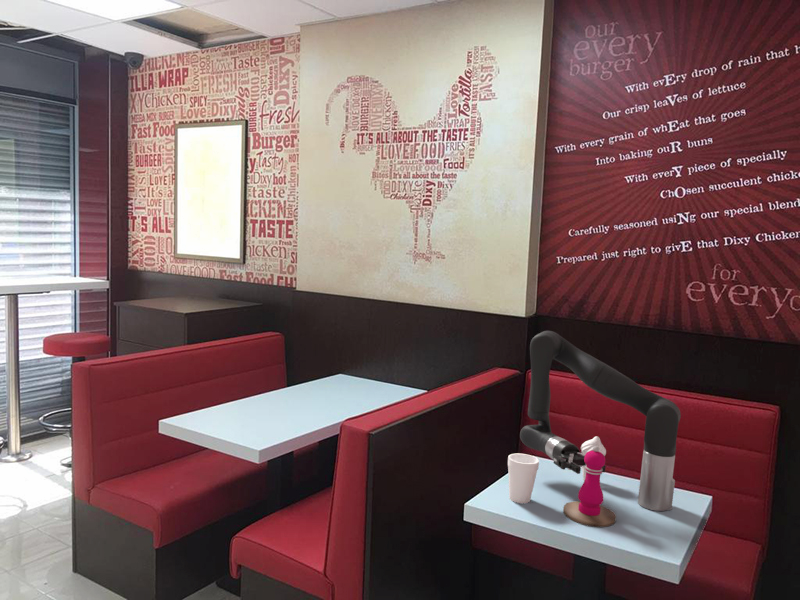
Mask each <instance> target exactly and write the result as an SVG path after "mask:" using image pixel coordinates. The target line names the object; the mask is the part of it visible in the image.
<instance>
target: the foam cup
mask: <svg viewBox="0 0 800 600" xmlns="http://www.w3.org/2000/svg"><path fill="white" fill-rule="evenodd" d="M539 466H540V459H539V458H537V457H536V456H534V455H530V454H526V453H520V452H518V453H511V454H509V455H508V457H507V469H508V470H507V471H508V493H509V494H508V495H509V500H510V501H512V502H513V501H514V502H513V503H516V502H517V504H523V503H524V504H529V503H530V502H531V499H532V493H533V491H534V486H535V482H536V479H537V477H536V476H537V473H538V470H539ZM528 502H529V503H528Z"/></svg>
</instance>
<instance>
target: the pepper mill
mask: <svg viewBox="0 0 800 600" xmlns="http://www.w3.org/2000/svg"><path fill="white" fill-rule="evenodd" d="M584 462H585V464H586V466H585V471H586V477H585V481H584V480H583V483H582V485H581V486H580V488H579V490H578V494H577V498H578V501H580V502H581V503H579V508H578V510H579V511H580V512H581V513H583V514H586V515H590V516H597V515H599V514H600V510H601V507H600V506H599V505H601V506H602V504H603V503H604V492H603V490H602V486H601V480H600V479H601V476H602V475H603V472H602V470H603V469H602V467H603V466H604V465H605V466H606V457H605V456H604V455H603V454H602V453H601V452H599V448H598V446H594V447H593V451H589V452H587V453H586V454H585V457H584Z"/></svg>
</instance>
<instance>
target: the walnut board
mask: <svg viewBox="0 0 800 600" xmlns="http://www.w3.org/2000/svg"><path fill="white" fill-rule="evenodd" d="M579 503H581V502H580V500H578V501H569V502H566V504H564V505H563V510H562V511H563V515H564V516H565V517H567V519H568V520H570V521H573V522H574V523H577V524H580V525H584V526H587V525H588V526H587V527H593V526H594V528H595V527H596V528H604V527H606V528H607V527H610V526H613V525H614V524H615V523H616V520H617V515H616V513H615V512H614V511H613V510H611V509H610V508H608V507H606V506H604V505H602V504H601V505H599V506H600V507H601V510H600V514H599V515H597V516H590V515H586V514H583V513H581V512H580V511H579V510H578V508H579Z"/></svg>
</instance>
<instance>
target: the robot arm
mask: <svg viewBox="0 0 800 600" xmlns="http://www.w3.org/2000/svg"><path fill="white" fill-rule="evenodd" d="M529 355H530V356H529V357H530V387H529V397H528V398H529V399H528V405H527V408H528V409H527V416H528V417H529V419H532V420H534V421H538V424H527V425H524V426H523V427H522V428H521V430H520V432H519V438H520V441H521V443H522V444H524V446H526V447H527V448H529V449H532V450H535V451H537V452H543V454H545V455H547V456H548V457H549V458H550V459H551V460H553V464H555V466H557V467H559V469H560V470H566V469H567V470H569V471H572V472H574V473H575V474H577V475H578V474H579V475H580V474H581V469H582V466H583V467H585V466H586V464H585V462H584V457H585V455H584V454H583V453H582V452H581V451H580V449H579V448H578V446H577V445H575V444H574V443H572V442H570V441H569V440H567V439H565V438H562V437H560V436H558V435H556V434H555V433H553V432H552V428H551V422H550V406H551V386H550V373H551V366H552V363H553V360H554V361H556V362H558V363H560V364H562V365H563V366H565V367H567V368H569V369H570V371H572V372H573V373H574V374H575V375H576V377H577V378H578V379H579V380H580V381H582V383H583V384H585V385H586V387H588V388H590V389H592V390H593V391H595V392H597V393H598V394H600V395H602V396H603V397H605V398H608V399H610V400H613V401H615V402H618V403H621V404H624V405H627V406H629V407H631V408H633V409H635V410H636V411H638V412H639V413H641V414H642V415H644V416H645V424H644V426H645V427H644V435H643V436H644V437H643V452H642V460H641V469H640V479H639V487H638V488H639V489H638V495H637V504H638V505H639V506H641V507H643V508H645V509H647V510H651V511H655V512H656V511H658V512H665V511H669V510H672V508H673V499H674V493H675V492H674V491H675V483H676V480H675V479H674V478H673V476H674V469H675V459H676V451H677V436H678V429H679V423H680V420H681V417H682V415H681V410H680V408H679V406H678V405H677V404H676V403H675V402H673V401H671V400H670V399H668V398H666V397H663V396H660V395H659V394H657V393H656V392H655V393H654V392H652V391H651V390H648V389H646V388H645V387H643V386H641V385H640V384H638V383H636V382H635V381H634V380H633V379H631V378H630V377H628V376H627V375H624V374H623V373H621V372H619V371H618V370H617V369H616V368H614V367H612V366H610V365H608V364H607V363H605V362H603V361H601V360H599V359H597V358H595V357H594V356H592V355H591V354H589V353H587V352H585V351H583V350H581V349H579V348H577V346H575V345H574V344H572V342H570V341H568V340H567V339H565V338H564V337H562V336H561V335H560V334H559V333H557V332H555V331H552V330H544V331H541V332H540V333H539V332H538V333H537V334H536V335H534V337H532V339H531V340H530V344H529ZM602 469H603V470H602V473H605V472H606V464H605V465H604V466H603V467H602Z"/></svg>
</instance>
